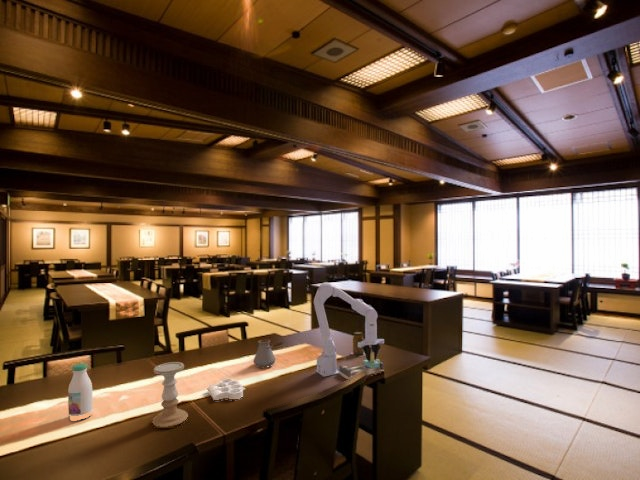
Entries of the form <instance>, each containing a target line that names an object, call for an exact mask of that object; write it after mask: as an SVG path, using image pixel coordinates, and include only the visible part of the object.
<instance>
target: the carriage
mask: <svg viewBox="0 0 640 480" xmlns="http://www.w3.org/2000/svg"><path fill="white" fill-rule="evenodd" d="M362 362H363V363H362V364H363V365H366V366H367V367H369V368H371V369H372V368H377V367H380V363H379V362H377V361H375V360H374V351H372V350H371V354H370V361H368V360H367V359H363V360H362Z"/></svg>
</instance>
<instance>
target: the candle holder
mask: <svg viewBox="0 0 640 480" xmlns="http://www.w3.org/2000/svg"><path fill="white" fill-rule="evenodd" d="M184 368H185V364H184V363H183V362H180V361H171V362H166V363H165V362H163V363H162V364H159V365H156V366H155V367H154V368H153V372H154V374H157V375H161V376H162V377H163V378H164V380H163V381H162V382H161V385H162V386H163V390H162V394H161V399H162V402H161V406H162V407H163V409H162V411H161V412H159V413H158V414H157V415H156V416H155V417H153V418H152V420H153V421H152V420H151V424H152V423H153V424H154V425H156V426H160V427H168V426H173V425H177V424H180V423H182V422H183V421H185V420H186V419H187V417H188V418H189V414H188V412H187V411H185V410H184V409H180V408H178V407H177V405H178V404H179V399H178V396H179V394H178V390H177V387H176V384H177V382H178V380H177V379H176V378H175V376H176V375H177V373H178V372H181V371H183V370H184ZM187 420H188V419H187ZM187 420H186V421H187Z"/></svg>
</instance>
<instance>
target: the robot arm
mask: <svg viewBox="0 0 640 480" xmlns="http://www.w3.org/2000/svg"><path fill="white" fill-rule="evenodd" d="M331 296H332V297H335V298H337V297H338V298H339V299H341V300H343V301H345V302H347V303H348V304H350V305H351V309H352V310H353V311H356V313H358V314H360V315H362V316H364V317H365V322H364V331H365V332H364V335H365V336H364V337H365V338H364V341H362V342H359V343H358V347H360V348H361V347H362V348H363V350H364V353H365V355H366V356H365V358H366V359H365V360H368V361H370V354H371V351H374V359H375V360H376V359H377V357H378V353H379V350H380V348H381V346H382V345H381V344H383V345H384V344H385V339H384V338H378V334H377V333H378V331H377V330H378V325H377V323H378V322H377V319H378V317H379V315H378V312H377V311H376V309H375V308H374V307H372V305H371V304H367V303H365V302H364V300H363V299H361V298H353V297H352V296H351V295H349V294H348V293H347V292H345V291H343V290H342V289H341V288H339V287H337V286H336V285H334V284H331V283H330V282H328V281H327V282H326V281H325V282H322V283H320V285H319V287H318V288H317V290H316V293H315V296H314V298H313V305H314V311H315V314H316V317H317V323H318V327H319V330H320V333H321V339H322V352H321V355H319V356H317V357H316V373H318V375H321V377H324V378H325V377H328V376H329V377H330V376H333V375H338V374H339V370H338V369H337V368H338V367H337V365H338V364H337V363H338V361H337V348H336V344H335V341H334V340H333V338H332V335H331V332H330V331H331V330H330V327H329V323H328V318H327V314H326V310H325V306H324V305H325V302H326V301H327V299H328V298H330V297H331ZM370 346H371V347H370Z"/></svg>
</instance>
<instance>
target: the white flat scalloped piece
mask: <svg viewBox="0 0 640 480" xmlns="http://www.w3.org/2000/svg"><path fill="white" fill-rule="evenodd" d="M219 387H221V388H219ZM246 389H247V388H245V387H243V384H242V383H240V381H239V380H234V378H228V377H227V378H224V379H221V380H220V381H219V382H218V383H214V384H212V385H209V386H208V387H207V388H206V390H208V391H209V392H210V393H209V392H208V391H207V392H208V393H209V395H210V394H211V396H210V397H211V398H212V401H214V400H219V399H223V398H229V399H239V400H241V399H242V398H241V397H244V391H245V390H246ZM240 398H241V399H240Z"/></svg>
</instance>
